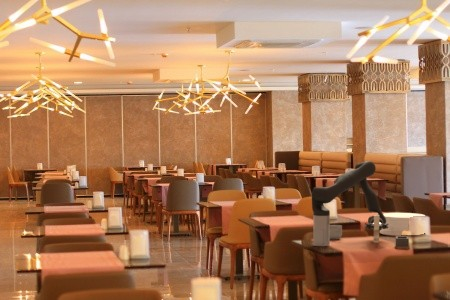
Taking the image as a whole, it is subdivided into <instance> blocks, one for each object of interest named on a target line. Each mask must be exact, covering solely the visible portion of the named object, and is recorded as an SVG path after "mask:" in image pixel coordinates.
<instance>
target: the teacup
mask: <svg viewBox="0 0 450 300" xmlns="http://www.w3.org/2000/svg"><path fill="white" fill-rule="evenodd" d="M342 235H343V225H340V224H330V240H339V239H340V238H341V237H342Z"/></svg>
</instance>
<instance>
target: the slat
mask: <svg viewBox="0 0 450 300" xmlns="http://www.w3.org/2000/svg"><path fill="white" fill-rule="evenodd" d="M373 216H374V231H373V243H375V244H377V243H378V244H379V243H380V231H379V215H378V214H374V215H373Z"/></svg>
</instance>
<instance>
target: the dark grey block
mask: <svg viewBox="0 0 450 300" xmlns="http://www.w3.org/2000/svg"><path fill="white" fill-rule="evenodd" d="M409 237H410V236H395V242H394V249H401V250H404V249H408V250H409V249H410V248H411V247H410V239H409Z"/></svg>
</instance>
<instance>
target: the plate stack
mask: <svg viewBox="0 0 450 300" xmlns="http://www.w3.org/2000/svg"><path fill="white" fill-rule="evenodd" d="M383 215H384V216H385V218H386V224H388V228H387V229H383V228H382V229H381V230H380V231H379V234H382V235H385V236H395V237H396V236H401V232H402V230H408V224H409V218H410V217H413V216H425V217H426V215H425V214H422V213H415V212H413V213H412V212H387V213H386V212H385V213H383Z"/></svg>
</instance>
